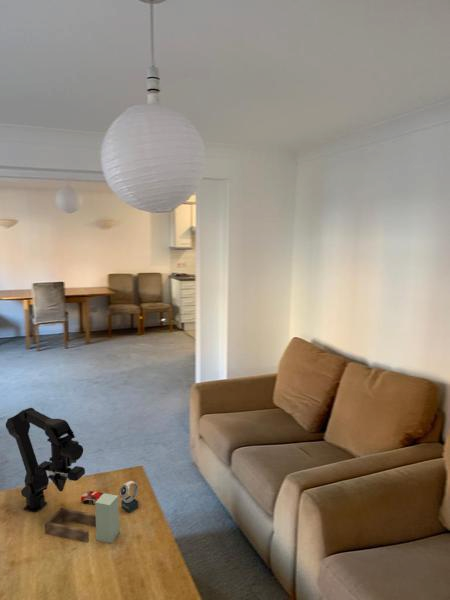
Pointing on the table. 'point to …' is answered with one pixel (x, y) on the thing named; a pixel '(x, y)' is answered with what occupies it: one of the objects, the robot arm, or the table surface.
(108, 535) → the block
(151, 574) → the table surface
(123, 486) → the watch
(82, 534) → the brown rectangular frame
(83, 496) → the race car
